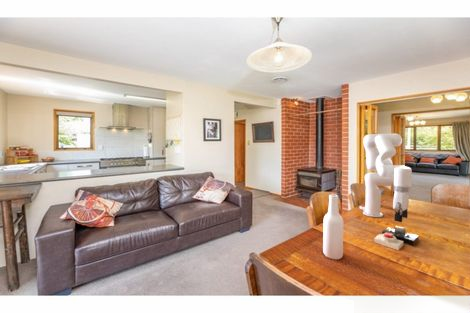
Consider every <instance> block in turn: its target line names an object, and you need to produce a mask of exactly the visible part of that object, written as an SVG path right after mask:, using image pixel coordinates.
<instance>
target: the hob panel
mask: <svg viewBox="0 0 470 313" xmlns="http://www.w3.org/2000/svg"><path fill="white" fill-rule="evenodd" d="M385 233H391V234H393V236H395V237H396V239H397V240H401V241H403V245H408V246H412V247H414V246H415V245H416V244H417V243H418V241H419V234H415V233H412V232H408V231H406V232H405V235H402V234H399V233H395V228H394V227H389V226H387V227H386V228H385V229H383V230H382V231H381V234H385Z"/></svg>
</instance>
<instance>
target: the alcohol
mask: <svg viewBox="0 0 470 313" xmlns="http://www.w3.org/2000/svg"><path fill="white" fill-rule="evenodd" d="M328 199H329V200H328V209H327V213H325V215H324V216H323V224H322V226H323V229H322V230H323V233H322V234H323V236H322V253H323V254H324V256H325V257H326V258H328V259H331V260H340V259H342V258H343V256H344V223H345V222H344V218H343V217H342V216H341V214H340V210H339V209H340V208H339V194H335V193H330V194H329V195H328Z"/></svg>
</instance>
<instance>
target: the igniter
mask: <svg viewBox="0 0 470 313" xmlns="http://www.w3.org/2000/svg"><path fill="white" fill-rule="evenodd" d="M373 242H374V243H375V244H379V245H382V246H384V247H388V248H391V249H394V250H397V251H400V250H401V249H402V247H403V246H404V243H403V241H401V240H397V239H396V237H395V236H393V238H387V237H385V236H384V234H382V233H378V234H377V235H376V236H375V237H374V238H373Z"/></svg>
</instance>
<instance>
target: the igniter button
mask: <svg viewBox="0 0 470 313" xmlns="http://www.w3.org/2000/svg"><path fill="white" fill-rule="evenodd" d="M384 236H385V237H387V238H393V234H391V233H385V234H384Z"/></svg>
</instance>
